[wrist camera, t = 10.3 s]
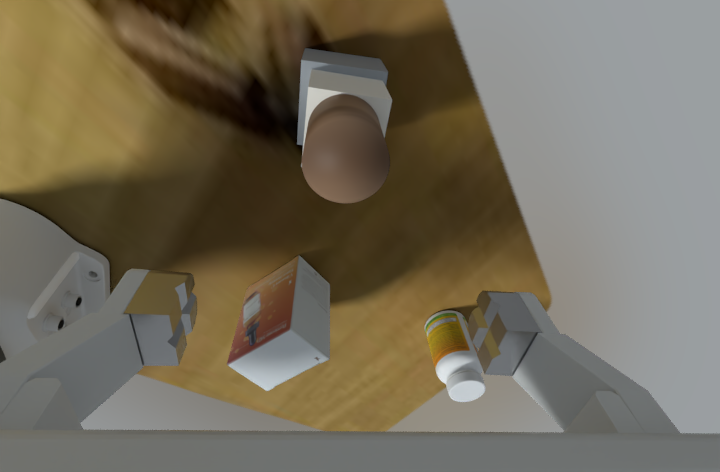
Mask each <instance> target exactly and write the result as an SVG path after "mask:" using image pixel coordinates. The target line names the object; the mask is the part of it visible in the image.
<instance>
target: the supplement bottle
mask: <svg viewBox="0 0 720 472" xmlns="http://www.w3.org/2000/svg"><path fill="white" fill-rule="evenodd" d="M425 333H426V336H427V340H428V344H429V347H430V351H431V355H432V358H433V362H434V366H435V369H436V373H437V376H438V378H439V379H440V380H441V381H442V382H443V383H445V384H446V386H447V390H448V393H449V396H450V398H451V399H453V400H455V401H459V402H468V401H471V400H475V399H477V398H479V397H480V396H481V395H482V394H483V393H484V392H485V384H484V381H483V378H482V377H481V373H482V371H483V369H482V366H481V364H480V361H479V359H478V356H477V354H478V349H477V346H475V345H474V344H473V343H472V341H471V338H470V336H469V330H468V323H467V321H466V319H465V317H464V316H463V315H462V314H461V313H459V312H457V311H452V310H446V311H441V312H438V313H436V314H434V315H432V316H431V317H430V318H429V319H428V320H427V322H426V324H425Z"/></svg>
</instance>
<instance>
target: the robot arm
mask: <svg viewBox="0 0 720 472" xmlns="http://www.w3.org/2000/svg"><path fill="white" fill-rule="evenodd" d="M194 285H195V283H194V277H193V275H192V274H191V273H184V272H172V271H160V270H143V269H130V270H128V271H127V272H126V273H125V274H124V276H123V277H122V279H121V280H120V282H119V283H118V285H117V286H116V287H115V289H114V290H113V292H112V293H111V295H110V268H109V262H108V260H107V259H106V257H104V256H103V255H102V254H100V253H98V252H96V251H94V250H92V249H90V248H88V247H86V246H84V245H82V244H79V243H78V242H76V241H75V240H74V239H72V238H71V237H70V236H69V235H67V234H66V233H65V232H64V231H63V230H62V229H60V228H59V227H58V226H57V225H55V224H54V223H52V222H51V221H50V220H48V219H46V218H45V217H43V216H42V215H40V214H38V213H36V212H34V211H32V210H30V209H28V208H26V207H24V206H21V205H19V204H16V203H13V202H10V201H7V200H4V199H0V472H720V434H699V433H695V434H694V433H692V434H691V433H683V434H682V433H680V432H679V431H678V429H677V428H676V427H675V425H674V424H673V423H672V422H671V420H670V419H669V418H668V416H667V415H666V414H665V413H664V411H663V410H662V409H661V407H660V406H659V405H658V403H657V402H656V401H655V400H654V398H653V397H652V396H651V394H650V393H649V392H648V391H647V390H646V389H644V388H643V387H641V386H640V385H638V384H637V383H636V382H634V381H633V380H631V379H630V378H628V377H627V376H625V375H624V374H622V373H621V372H620V371H618V370H617V369H615V368H614V367H612V366H611V365H609V364H608V363H607V362H605V361H604V360H602V359H601V358H599V357H598V356H596V355H595V354H593V353H592V352H590V351H589V350H588V349H586V348H585V347H583V346H582V345H580V344H579V343H577V342H576V341H575V340H573V339H572V338H570V337H569V336H567V335H565V334H560V333H559V331H558V330H557V328H556V327H555V325H554V324H553V322H552V320H551V319H550V317H549V316H548V314H547V313H546V311H545V310H544V308H543V307H542V305H541V304H540V302H539V301H538V299H537V298H536V296H535V295H534V294H532V293H526V292H499V291H482V292H481V293H480V294H479V296H478V298H477V300H476V301H477V303H478V305H479V306H478V307H477V308H476V309H474V310H473V311H472V312H471V315H470V317H469V323H468V330H469V336H470V338H471V341H472V343H473V344H474V345H475V346H477V347H478V348H479V351H478V354H477V356H478V359H479V361H480V364H481V366H482V369H483V371H484V374H490V375H507V376H513V378H514V379H515V381H516V382H517V383H518V384H520V386H521V387H522V388H523V389H524V390H525V391H526V392H527V393H528V394H529V395H530V396H531V397H532V398H533V399H534V400H535V401H536V402H537V403H538V404H539V405H540V406H541V407H542V408H543V409H544V410H545V411H546V412H547V413H548V414H549V415H550V417H552V419H554V420H555V422H556V423H557V424H558V425H559V426H560V427H561V428H562V429H563V430H564V432H563V433H535V432H533V433H532V432H531V433H530V432H360V431H212V430H211V431H210V430H209V431H208V430H206V431H204V430H83V428H82V426H81V424H80V423H81V422H82V421H83V420H84V419H85V418H86V417H87V416H89V415H90V414H91V413H92V412H93V411H94V410H95V409H97V408H98V407H99V406H100V405H101V404H102V403H103V402H105V401H106V400H107V399H108V398H109V397H110V396H111V395H113V394H114V392H116V391H117V390H118V389H119V388H120V387H122V385H124V384H125V383H126V382H127V381H128V380H130V379H131V378H132V377H133V376H134V375H135V374H136V373H137V372H139V371H140V370H141V369H142V368H143V366H179V364H180V361H181V358H182V356H183V353H184V351H185V348H186V346H187V342H186V335H187V334H189V333H190V332H192V330H193V327H194V324H195V320H196V315H197V297H196V296H195V295H194V294H193V293H192V290H193V288H194Z"/></svg>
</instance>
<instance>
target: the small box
mask: <svg viewBox="0 0 720 472" xmlns="http://www.w3.org/2000/svg"><path fill="white" fill-rule="evenodd" d="M329 359H330V284H329V283H328V282H327V281H326V280H325V279H324V278H323V277H322V276H321V275H320V274H319V273H318V272H316V271H315V270H314V269H313V268H312V267H311V266H310V265H309V264H308V263H307V262H306V261H305V260H304V259H303V258H302V257H301V256H297V257H295V258H294V259H292V260H291V261H290V262H288V263H287V264H285V265H283V266H282V267H280V268H279V269H277V270H275V271H274V272H272V273H271V274H269V275H267V276H266V277H264V278H262V279H261V280H259V281H258V282H256V283H254V284H252V285H251V286H249V287H248V288H247V291H246V295H245V298H244V302H243V306H242V310H241V313H240V317H239V321H238V325H237V329H236V332H235V336H234V340H233V343H232V347H231V351H230V355H229V358H228V362H227V365H228V366H230V367H231V368H232V369H234V370H235V371H237V372H238V373H240V374H242V375H243V376H245V377H246V378H248V379H249V380H251V381H252V382H254V383H255V384H257V385H258V386H260V387H261V388H263V389H265V390H266V391H269V390H271V389H272V388H274V387H275V386H277V385H279V384H281V383H283V382H285V381H286V380H288V379H290V378H292V377H294V376H296V375H298V374H300V373H302V372H304V371H306V370H308V369H310V368H312V367H314V366H316V365H318V364H320V363H323V362H325V361H327V360H329Z"/></svg>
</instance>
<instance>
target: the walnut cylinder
mask: <svg viewBox="0 0 720 472" xmlns="http://www.w3.org/2000/svg"><path fill="white" fill-rule="evenodd" d="M389 167H390V157H389V152H388V149H387V145H386V142H385V139H384V135H383V132H382V129H381V126H380V122H379V119H378V116H377V114H376V112H375V111H374V109H373V108H372V107H371V106H370V105H369V104H368V103H367V102H366V101H365V100H363V99H361V98H359V97H357V96H354V95H349V94H338V95H334V96H331V97H328V98H326V99H324V100H323V101H322V102H320V103H319V104H318V105H317V106H316V107H315V109H314V110H313V112H312V113H311V116H310V118H309V121H308V127H307V132H306V138H305V143H304V149H303V154H302V170H303V174H304V177H305V179H306V181H307V183H308V184H309V186H310V187H311V188H312V189H313V190H314V191H315V192H316V193H317V194H318V195H320V196H321V197H323V198H325V199H327V200H330V201H333V202H337V203H354V202H358V201H362V200H364V199H366V198H368V197H370V196H372V195H373V194H374V193H376V192H377V191H378V190H379V189H380V187H381V186H382V185H383V183H384V182H385V180H386V178H387V175H388V172H389Z"/></svg>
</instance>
